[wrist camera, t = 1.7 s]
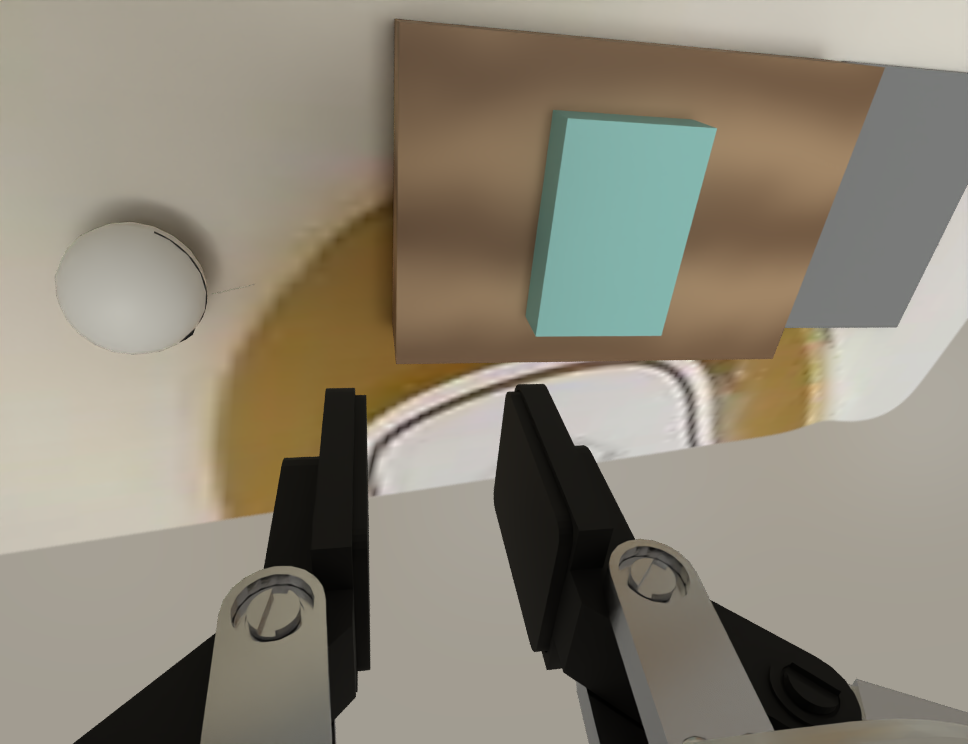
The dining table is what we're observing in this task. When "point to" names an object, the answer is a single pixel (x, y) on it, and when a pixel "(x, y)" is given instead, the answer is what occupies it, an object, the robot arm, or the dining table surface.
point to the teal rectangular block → (614, 222)
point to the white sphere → (131, 288)
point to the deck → (521, 167)
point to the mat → (889, 202)
